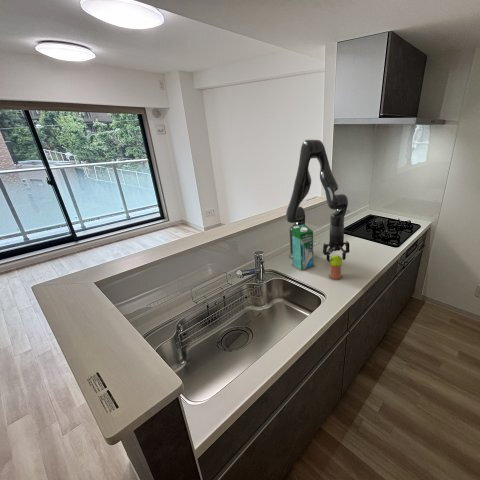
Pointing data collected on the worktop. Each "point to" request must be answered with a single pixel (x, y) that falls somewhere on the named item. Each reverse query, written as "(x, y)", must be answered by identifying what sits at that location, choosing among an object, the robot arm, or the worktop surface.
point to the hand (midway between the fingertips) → (335, 260)
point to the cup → (335, 272)
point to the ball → (335, 260)
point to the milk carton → (302, 246)
